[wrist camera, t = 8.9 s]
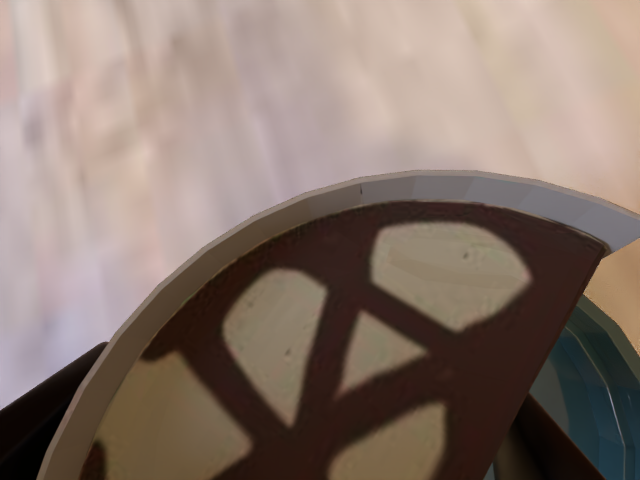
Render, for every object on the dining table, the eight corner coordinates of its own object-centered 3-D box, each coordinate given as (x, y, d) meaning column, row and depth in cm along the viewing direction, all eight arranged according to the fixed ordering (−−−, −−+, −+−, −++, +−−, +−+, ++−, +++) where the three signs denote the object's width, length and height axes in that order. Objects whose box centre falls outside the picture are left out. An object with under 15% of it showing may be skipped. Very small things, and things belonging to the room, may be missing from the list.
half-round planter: (344, 213, 17) (322, 19, 7) (483, 299, 16) (676, 192, 6) (146, 493, 15) (-248, 725, 5) (287, 623, 13) (99, 1279, 4)
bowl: (444, 733, 18) (470, 844, 14) (187, 425, 21) (151, 448, 18) (694, 436, 20) (780, 463, 16) (420, 192, 23) (434, 164, 19)
